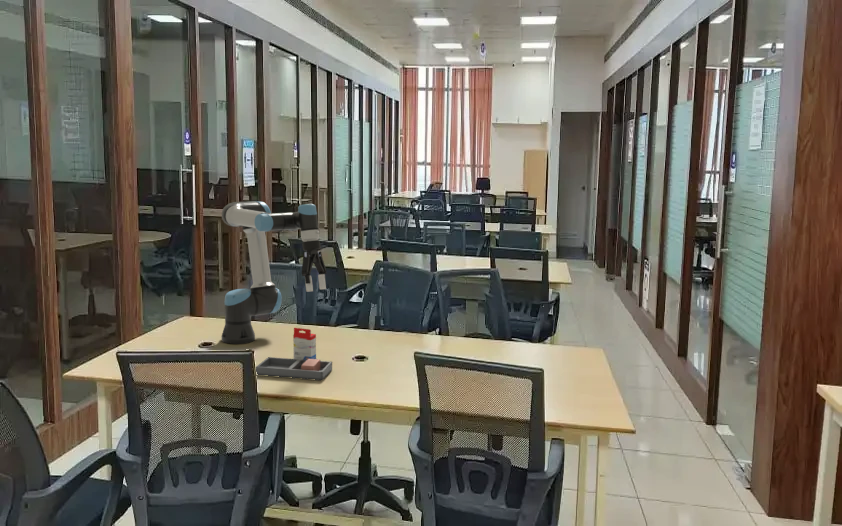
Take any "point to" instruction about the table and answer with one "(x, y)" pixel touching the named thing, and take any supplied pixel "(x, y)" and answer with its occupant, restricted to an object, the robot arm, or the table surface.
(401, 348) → the table surface
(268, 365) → the caddy
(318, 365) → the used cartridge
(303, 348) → the ink box
